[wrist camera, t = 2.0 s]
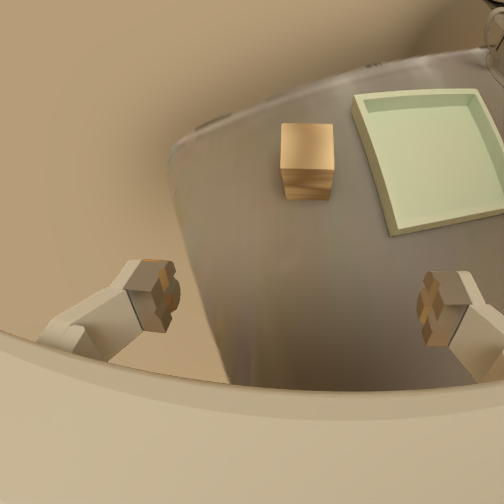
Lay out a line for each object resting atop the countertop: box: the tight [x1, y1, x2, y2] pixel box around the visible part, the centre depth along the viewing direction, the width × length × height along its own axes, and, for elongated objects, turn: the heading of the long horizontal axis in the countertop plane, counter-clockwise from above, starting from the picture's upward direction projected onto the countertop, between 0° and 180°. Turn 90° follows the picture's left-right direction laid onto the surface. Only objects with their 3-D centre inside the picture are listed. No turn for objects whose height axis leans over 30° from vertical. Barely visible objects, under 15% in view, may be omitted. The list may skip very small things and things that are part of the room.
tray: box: [351, 89, 504, 237], centre depth 30 cm, size 18×16×4 cm
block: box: [280, 123, 334, 201], centre depth 30 cm, size 4×4×8 cm
